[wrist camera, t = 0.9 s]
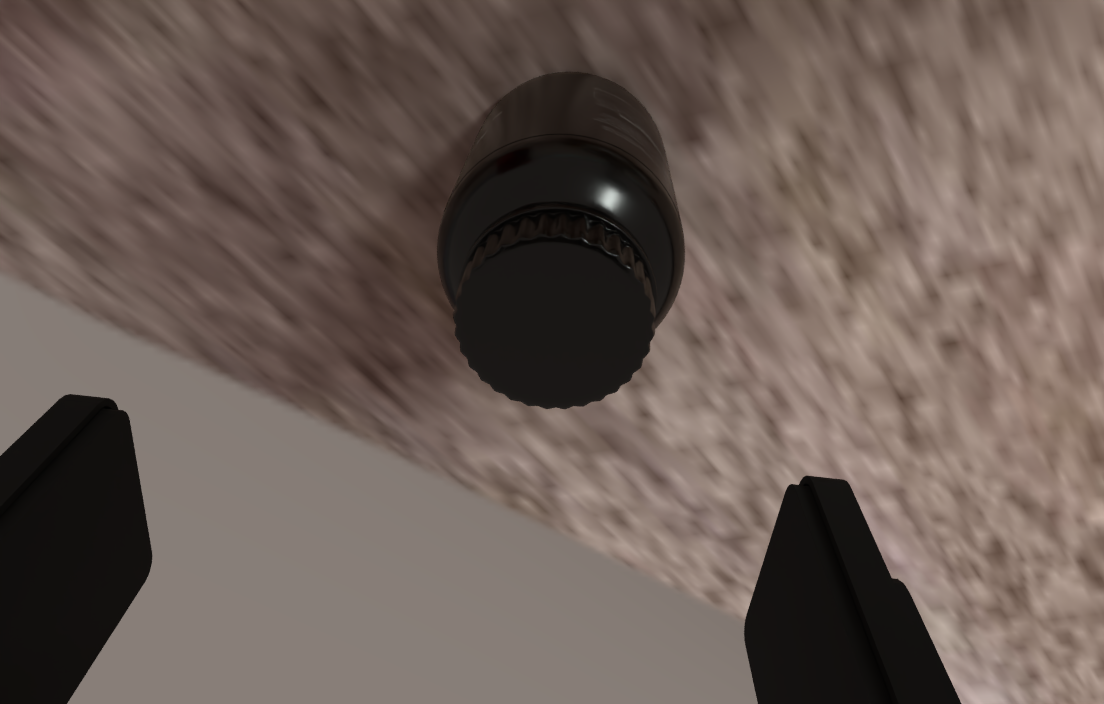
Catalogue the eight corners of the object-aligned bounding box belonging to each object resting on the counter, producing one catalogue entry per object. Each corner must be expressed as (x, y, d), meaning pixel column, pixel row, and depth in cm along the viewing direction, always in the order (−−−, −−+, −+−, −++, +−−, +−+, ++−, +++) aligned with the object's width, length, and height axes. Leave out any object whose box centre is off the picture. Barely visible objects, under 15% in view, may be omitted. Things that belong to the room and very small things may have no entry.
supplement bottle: (448, 97, 29) (363, 223, 18) (642, 43, 27) (670, 145, 17) (506, 273, 32) (462, 465, 21) (681, 232, 31) (726, 414, 20)
